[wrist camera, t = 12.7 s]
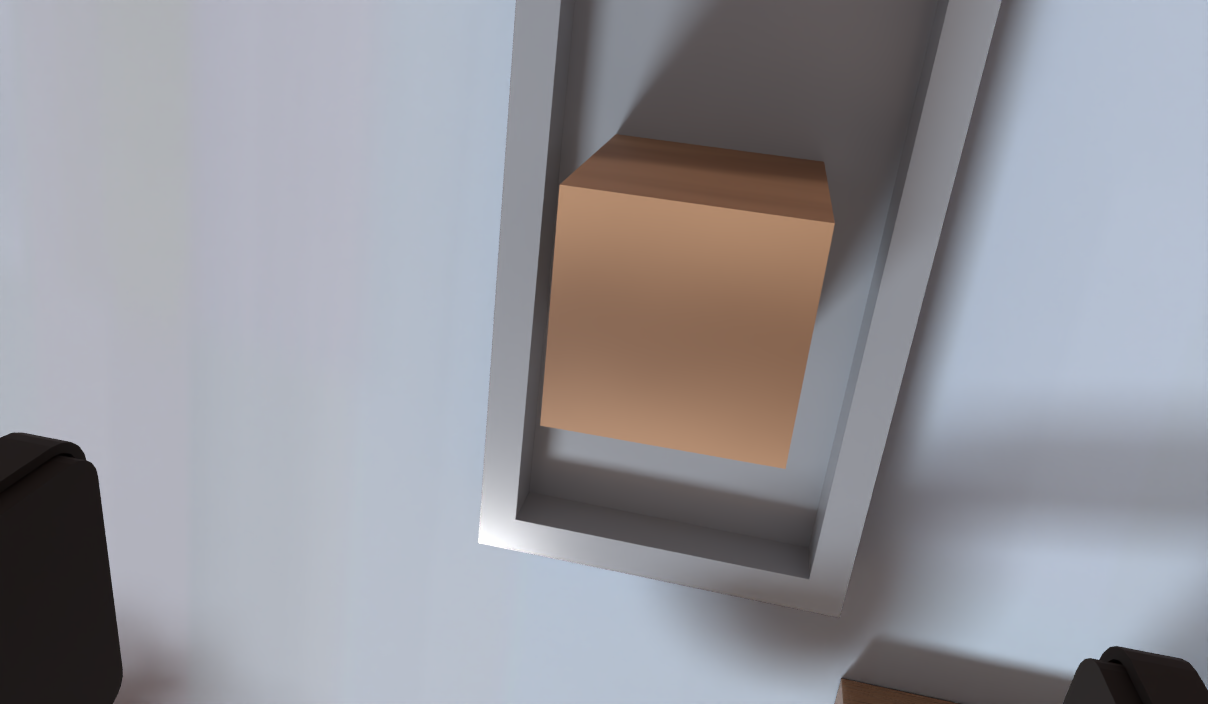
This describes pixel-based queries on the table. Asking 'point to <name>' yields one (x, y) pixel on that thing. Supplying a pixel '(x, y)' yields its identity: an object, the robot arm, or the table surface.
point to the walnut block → (686, 297)
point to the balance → (878, 695)
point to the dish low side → (849, 292)
